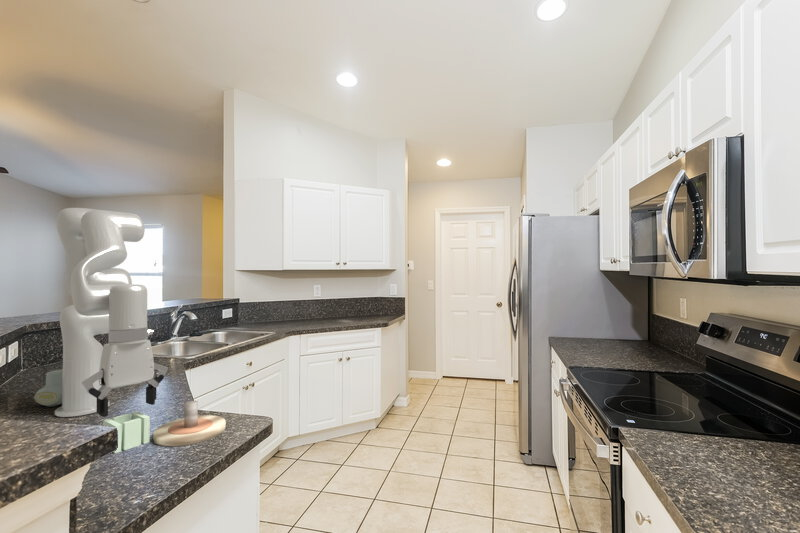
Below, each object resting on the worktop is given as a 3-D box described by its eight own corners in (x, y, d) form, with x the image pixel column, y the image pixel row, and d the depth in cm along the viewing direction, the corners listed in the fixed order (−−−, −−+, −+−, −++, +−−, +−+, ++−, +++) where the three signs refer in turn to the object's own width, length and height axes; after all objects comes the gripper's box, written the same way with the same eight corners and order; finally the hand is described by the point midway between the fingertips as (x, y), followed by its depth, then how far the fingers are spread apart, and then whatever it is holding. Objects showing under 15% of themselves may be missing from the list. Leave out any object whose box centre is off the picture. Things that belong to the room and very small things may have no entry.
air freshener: (28, 408, 117) (28, 374, 117) (53, 399, 125) (53, 368, 125) (64, 407, 116) (64, 374, 117) (86, 398, 125) (86, 367, 125)
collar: (102, 445, 90) (103, 419, 90) (136, 435, 96) (136, 411, 96) (115, 453, 86) (115, 426, 86) (149, 442, 92) (149, 416, 92)
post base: (141, 436, 95) (141, 405, 95) (204, 416, 108) (204, 389, 109) (173, 452, 86) (174, 418, 86) (238, 428, 100) (238, 399, 100)
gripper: (159, 331, 101) (159, 397, 100) (77, 340, 86) (76, 417, 86) (174, 332, 96) (174, 402, 96) (89, 342, 82) (88, 423, 81)
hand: (127, 409), depth 91 cm, fingers open, 9 cm apart
